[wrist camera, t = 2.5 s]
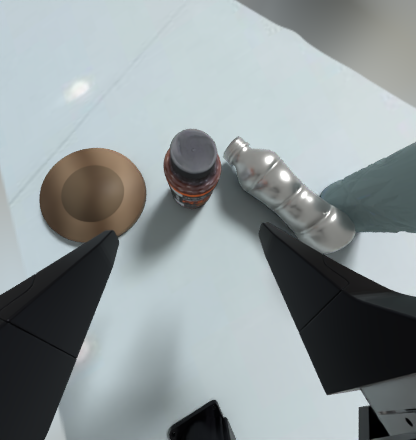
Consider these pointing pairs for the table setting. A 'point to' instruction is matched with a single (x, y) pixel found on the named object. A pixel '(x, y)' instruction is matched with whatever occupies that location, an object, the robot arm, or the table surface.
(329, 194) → the grey-green cup
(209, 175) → the supplement bottle
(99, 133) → the table surface
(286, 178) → the plastic bottle
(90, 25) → the table surface
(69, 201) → the disc
